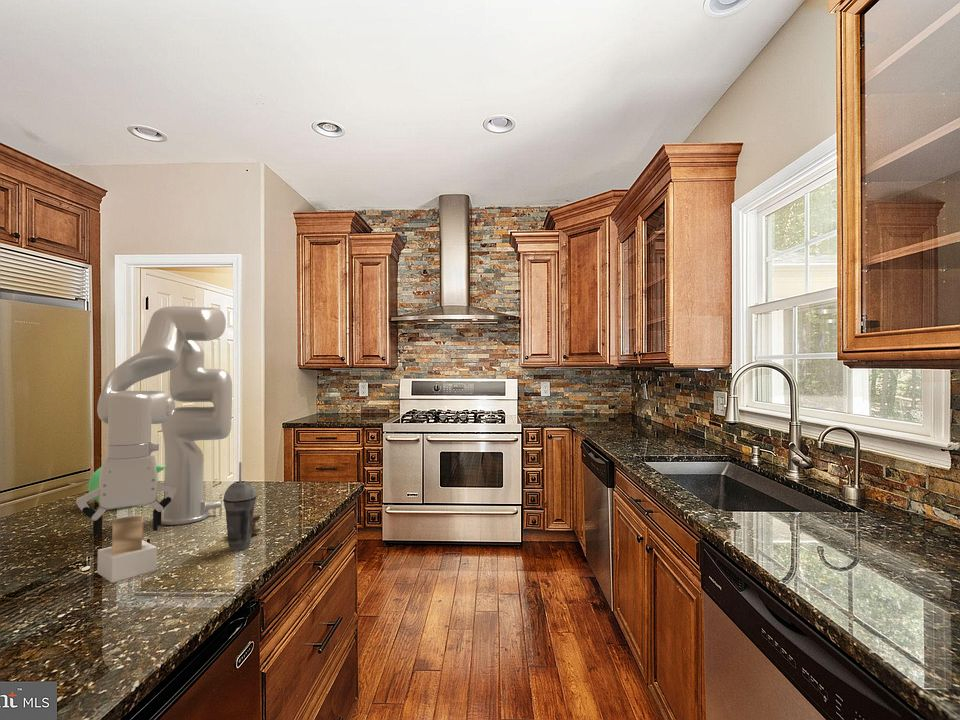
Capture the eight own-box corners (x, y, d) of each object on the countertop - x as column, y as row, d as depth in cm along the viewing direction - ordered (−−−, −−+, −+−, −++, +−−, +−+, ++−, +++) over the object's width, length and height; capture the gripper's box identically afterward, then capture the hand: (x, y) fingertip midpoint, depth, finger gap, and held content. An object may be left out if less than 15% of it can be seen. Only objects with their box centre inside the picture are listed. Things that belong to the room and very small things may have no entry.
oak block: (141, 542, 109) (141, 514, 109) (141, 549, 105) (142, 520, 105) (112, 547, 106) (112, 518, 107) (112, 554, 102) (112, 524, 102)
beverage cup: (222, 554, 115) (223, 466, 116) (222, 544, 122) (223, 461, 122) (257, 549, 119) (258, 464, 119) (255, 540, 125) (256, 459, 126)
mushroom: (272, 520, 131) (257, 501, 130) (249, 541, 124) (233, 521, 124) (258, 529, 135) (243, 511, 135) (234, 550, 128) (219, 531, 128)
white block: (140, 562, 111) (141, 539, 111) (156, 570, 107) (156, 547, 107) (97, 574, 105) (97, 549, 105) (111, 583, 100) (112, 558, 100)
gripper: (175, 446, 114) (174, 522, 114) (77, 453, 104) (76, 536, 104) (179, 450, 108) (177, 530, 108) (76, 458, 98) (74, 547, 98)
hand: (127, 533), depth 106 cm, fingers open, 9 cm apart
